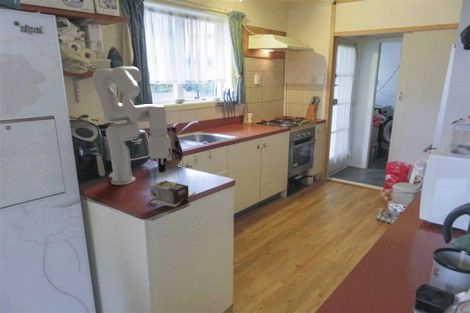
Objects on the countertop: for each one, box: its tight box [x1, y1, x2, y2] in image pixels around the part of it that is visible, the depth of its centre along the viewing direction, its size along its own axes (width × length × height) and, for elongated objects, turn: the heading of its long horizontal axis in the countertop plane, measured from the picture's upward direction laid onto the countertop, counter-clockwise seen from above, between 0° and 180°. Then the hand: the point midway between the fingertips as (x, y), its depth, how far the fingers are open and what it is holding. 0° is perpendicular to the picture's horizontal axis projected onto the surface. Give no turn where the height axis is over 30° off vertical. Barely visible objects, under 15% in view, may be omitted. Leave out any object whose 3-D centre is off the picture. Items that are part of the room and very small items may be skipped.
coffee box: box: [149, 179, 190, 204], centre depth 150 cm, size 9×6×16 cm
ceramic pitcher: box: [148, 124, 184, 168], centre depth 203 cm, size 18×21×25 cm
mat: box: [150, 190, 197, 208], centre depth 152 cm, size 13×18×1 cm
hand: (162, 171), depth 151 cm, fingers closed
